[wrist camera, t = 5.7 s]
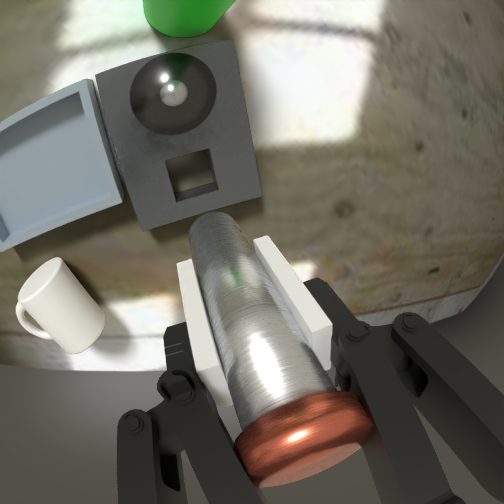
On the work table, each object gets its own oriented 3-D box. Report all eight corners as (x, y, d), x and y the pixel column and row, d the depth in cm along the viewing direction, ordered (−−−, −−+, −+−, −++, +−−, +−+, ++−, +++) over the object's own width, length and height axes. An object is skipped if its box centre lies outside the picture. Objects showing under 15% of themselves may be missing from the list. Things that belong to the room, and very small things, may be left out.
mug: (67, 247, 33) (51, 284, 26) (108, 302, 38) (103, 343, 32) (12, 284, 32) (-7, 320, 25) (52, 330, 38) (43, 369, 31)
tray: (9, 241, 29) (0, 252, 27) (-28, 145, 22) (-41, 150, 19) (125, 193, 32) (122, 202, 29) (92, 79, 24) (85, 78, 22)
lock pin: (191, 271, 19) (257, 494, 8) (173, 216, 17) (230, 468, 5) (250, 252, 20) (365, 450, 8) (238, 197, 18) (387, 404, 6)
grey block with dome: (143, 221, 34) (141, 247, 29) (100, 76, 24) (86, 72, 19) (254, 188, 36) (272, 207, 31) (226, 43, 27) (242, 32, 21)
